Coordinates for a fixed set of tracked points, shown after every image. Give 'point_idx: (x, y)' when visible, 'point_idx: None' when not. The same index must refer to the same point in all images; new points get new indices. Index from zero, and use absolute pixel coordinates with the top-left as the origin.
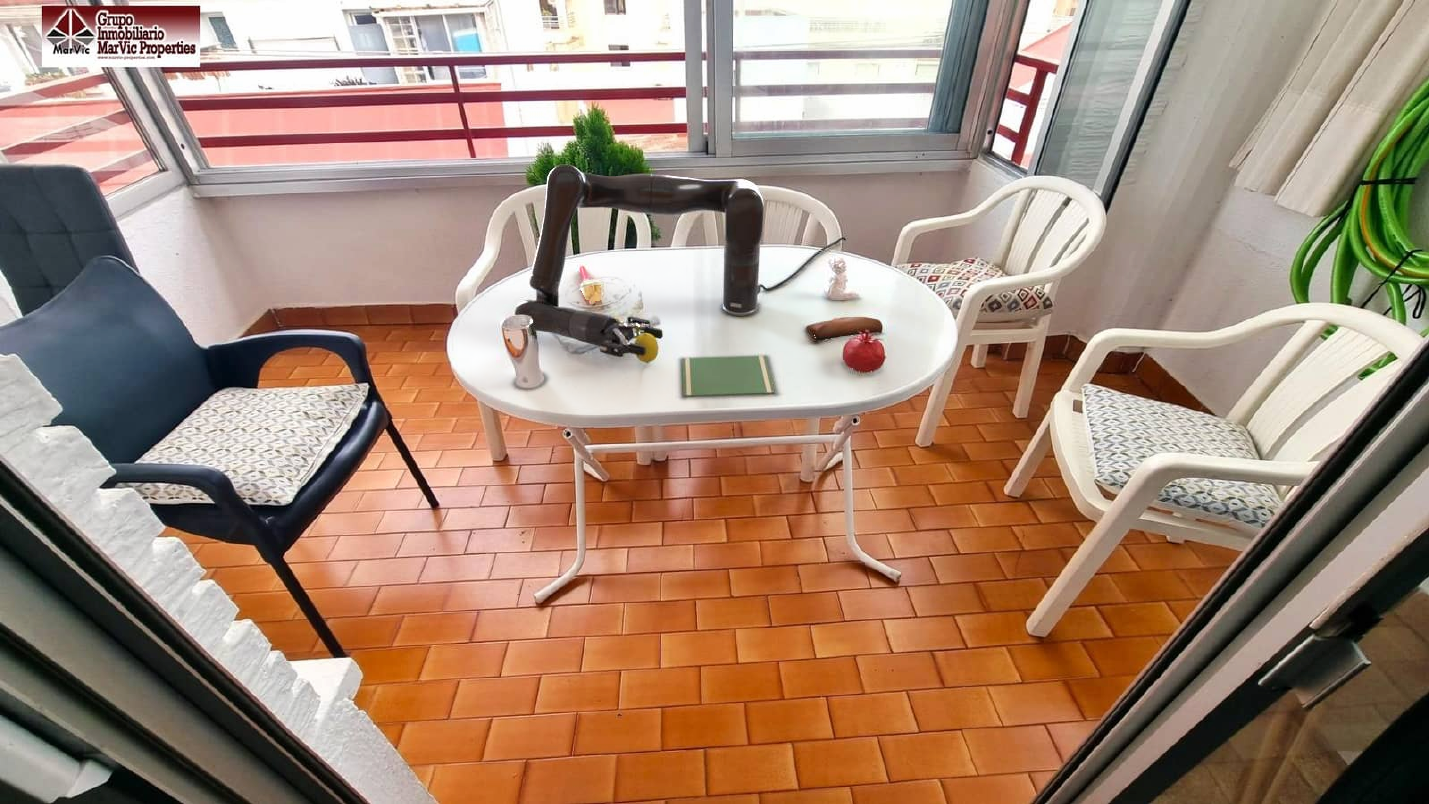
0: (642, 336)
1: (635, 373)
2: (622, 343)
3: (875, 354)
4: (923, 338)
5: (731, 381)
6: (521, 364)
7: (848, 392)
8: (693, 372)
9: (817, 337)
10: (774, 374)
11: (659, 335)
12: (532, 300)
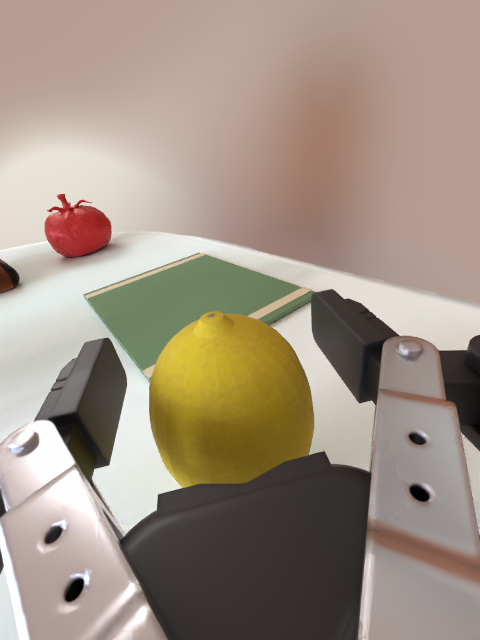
0: (242, 329)
1: (365, 455)
2: (440, 383)
3: (97, 209)
4: (7, 253)
5: (204, 281)
6: None
7: (155, 238)
8: None
9: (15, 271)
10: None
11: (118, 368)
12: None
